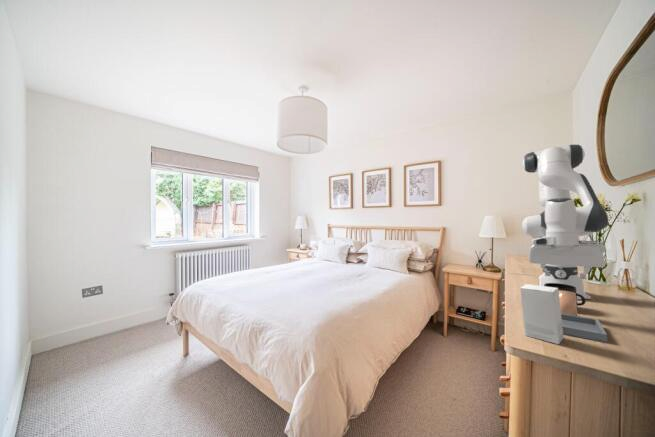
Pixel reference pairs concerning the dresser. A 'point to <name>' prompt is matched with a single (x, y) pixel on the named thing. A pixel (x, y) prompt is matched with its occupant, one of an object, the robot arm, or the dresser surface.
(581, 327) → the tray
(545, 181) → the robot arm
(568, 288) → the mug
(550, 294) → the skincare box
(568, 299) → the pinkish-tan rounded block
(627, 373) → the dresser surface
